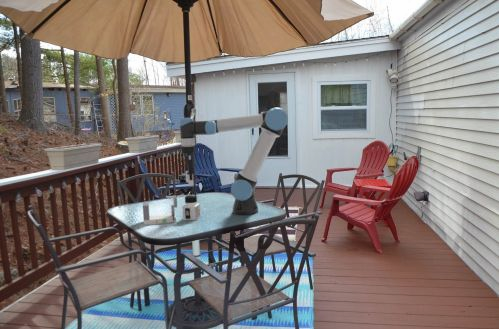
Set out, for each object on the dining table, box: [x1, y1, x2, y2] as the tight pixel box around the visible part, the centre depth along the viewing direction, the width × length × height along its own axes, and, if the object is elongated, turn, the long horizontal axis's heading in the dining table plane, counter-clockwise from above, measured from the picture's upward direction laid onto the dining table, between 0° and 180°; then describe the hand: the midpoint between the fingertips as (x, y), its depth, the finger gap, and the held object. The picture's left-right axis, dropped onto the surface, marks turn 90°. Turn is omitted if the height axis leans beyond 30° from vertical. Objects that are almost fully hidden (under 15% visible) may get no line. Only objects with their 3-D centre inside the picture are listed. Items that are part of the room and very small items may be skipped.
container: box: [182, 194, 201, 221], centre depth 212 cm, size 8×8×13 cm
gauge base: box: [142, 201, 177, 226], centre depth 208 cm, size 17×9×10 cm, turn 105°
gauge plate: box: [170, 194, 178, 221], centre depth 209 cm, size 3×10×12 cm, turn 15°
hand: (189, 184), depth 211 cm, fingers open, 13 cm apart
